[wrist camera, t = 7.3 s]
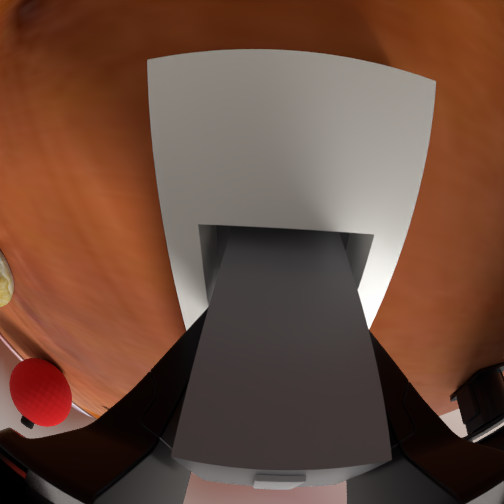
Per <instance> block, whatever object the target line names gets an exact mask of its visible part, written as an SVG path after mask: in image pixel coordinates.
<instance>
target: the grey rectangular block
mask: <svg viewBox="0 0 504 504" xmlns="http://www.w3.org/2000/svg"><path fill="white" fill-rule="evenodd" d="M171 457H172V458H173V459H175V460H176V461H177V462H179V463H180V464H181V465H183V466H184V467H185V468H187V469H188V470H190V471H191V472H193V473H194V474H196V475H197V476H198V477H200V478H202V479H203V480H207V481H213V482H220V483H228V484H238V485H248V486H253V488H257V489H292V488H294V487H307V486H324V485H335V484H338V483H340V482H343V481H346V480H348V479H351V478H353V477H356V476H358V475H361V474H363V473H365V472H367V471H370V470H372V469H374V468H376V467H378V466H380V465H382V464H385V463H387V462H389V461H390V460H392V455H391V446H390V438H389V431H388V424H387V417H386V411H385V405H384V399H383V394H382V388H381V383H380V378H379V373H378V368H377V364H376V359H375V355H374V350H373V346H372V342H371V338H370V334H369V330H368V326H367V322H366V318H365V315H364V311H363V307H362V304H361V300H360V297H359V293H358V290H357V286H356V283H355V280H354V276H353V273H352V270H351V267H350V264H349V261H348V258H347V255H346V252H345V249H344V246H343V243H342V240H341V237H340V234H339V232H326V231H311V230H296V229H279V228H260V227H240V226H232V228H231V232H230V235H229V238H228V242H227V245H226V248H225V252H224V255H223V259H222V262H221V265H220V269H219V272H218V276H217V279H216V283H215V286H214V290H213V293H212V297H211V301H210V304H209V308H208V311H207V315H206V319H205V322H204V326H203V330H202V333H201V337H200V341H199V345H198V348H197V352H196V356H195V360H194V364H193V367H192V371H191V375H190V379H189V383H188V387H187V391H186V395H185V399H184V403H183V407H182V411H181V415H180V420H179V424H178V428H177V432H176V436H175V441H174V445H173V449H172V454H171Z"/></svg>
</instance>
